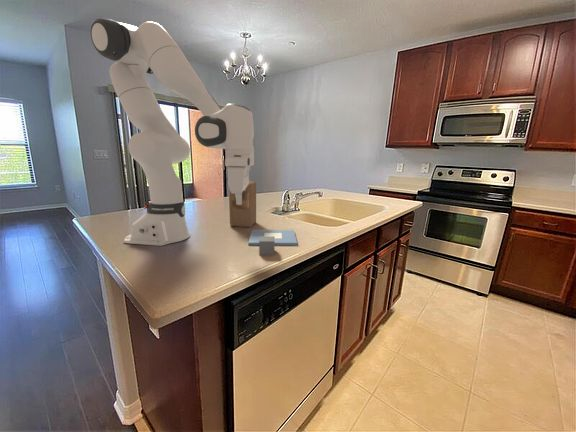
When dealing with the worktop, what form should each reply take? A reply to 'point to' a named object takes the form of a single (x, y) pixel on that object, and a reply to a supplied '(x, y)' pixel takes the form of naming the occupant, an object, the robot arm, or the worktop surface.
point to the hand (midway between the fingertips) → (240, 202)
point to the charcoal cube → (266, 245)
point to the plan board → (280, 236)
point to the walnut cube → (244, 201)
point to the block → (244, 215)
